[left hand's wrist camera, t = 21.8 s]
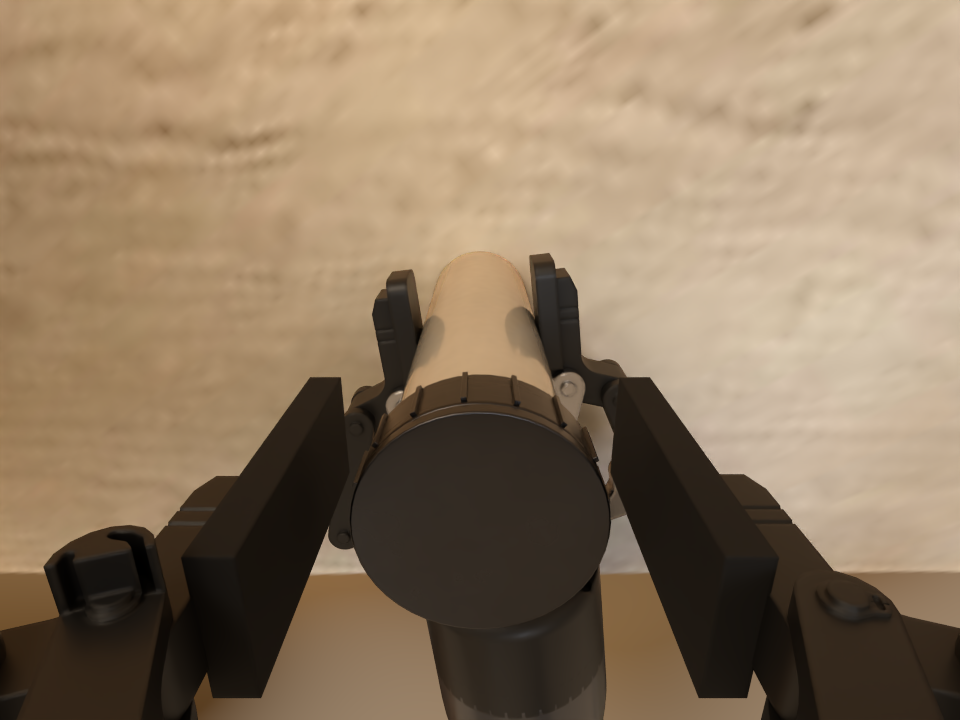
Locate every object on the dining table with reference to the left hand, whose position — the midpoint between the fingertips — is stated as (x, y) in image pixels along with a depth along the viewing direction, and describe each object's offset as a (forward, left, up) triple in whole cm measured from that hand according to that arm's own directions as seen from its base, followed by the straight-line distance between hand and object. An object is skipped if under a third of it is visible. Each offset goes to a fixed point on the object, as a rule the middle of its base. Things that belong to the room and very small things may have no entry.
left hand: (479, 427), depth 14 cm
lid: (0, 0, +4) cm, 4 cm away
